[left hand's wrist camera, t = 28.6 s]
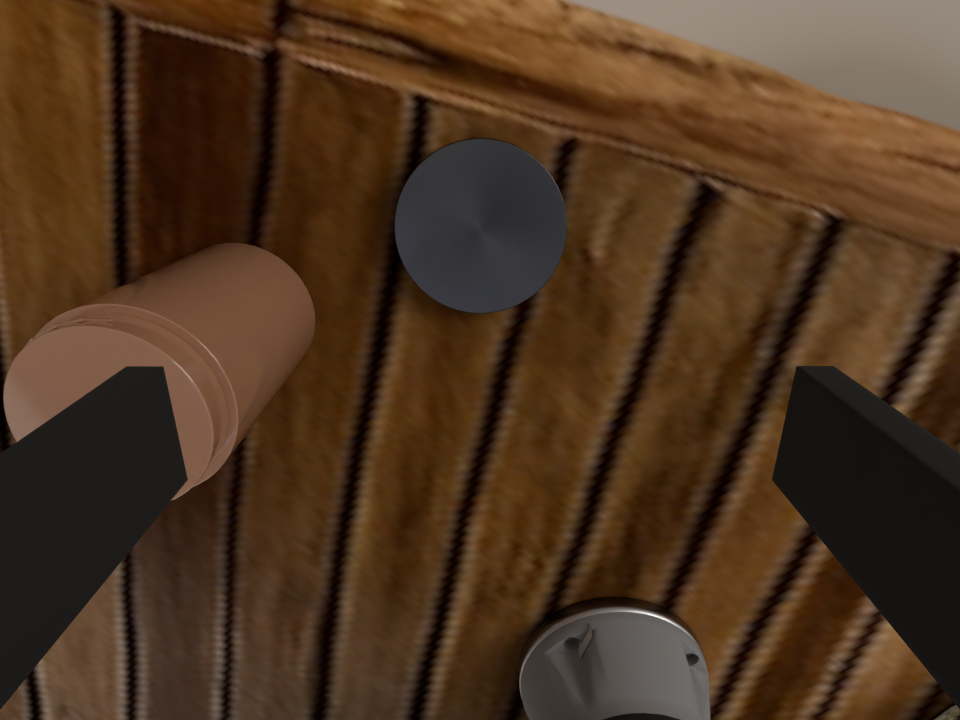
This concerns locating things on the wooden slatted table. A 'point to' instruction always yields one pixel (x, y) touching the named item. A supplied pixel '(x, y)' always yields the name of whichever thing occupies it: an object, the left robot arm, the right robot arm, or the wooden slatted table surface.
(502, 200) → the lid
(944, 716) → the fossil
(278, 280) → the jar
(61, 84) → the wooden slatted table surface
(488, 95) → the wooden slatted table surface
